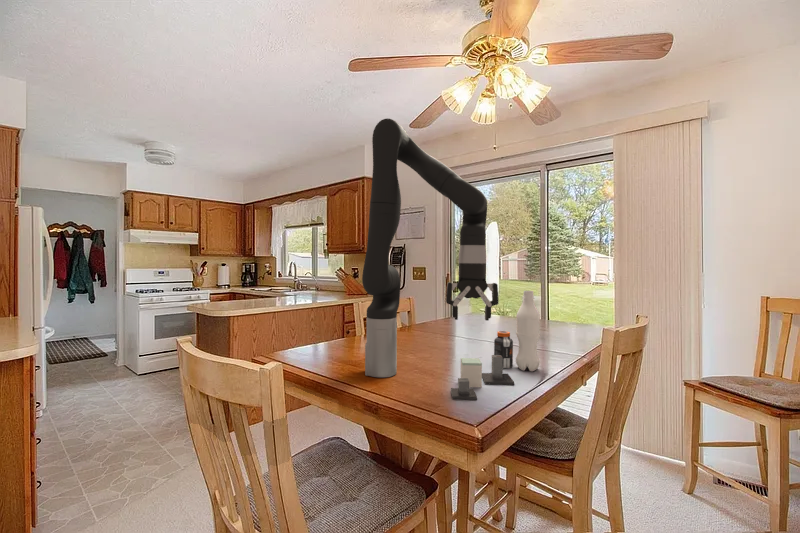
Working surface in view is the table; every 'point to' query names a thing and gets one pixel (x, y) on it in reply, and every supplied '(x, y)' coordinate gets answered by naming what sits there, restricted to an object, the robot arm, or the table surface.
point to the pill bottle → (504, 348)
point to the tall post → (497, 373)
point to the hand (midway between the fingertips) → (471, 319)
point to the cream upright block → (472, 371)
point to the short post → (463, 391)
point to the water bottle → (528, 333)
